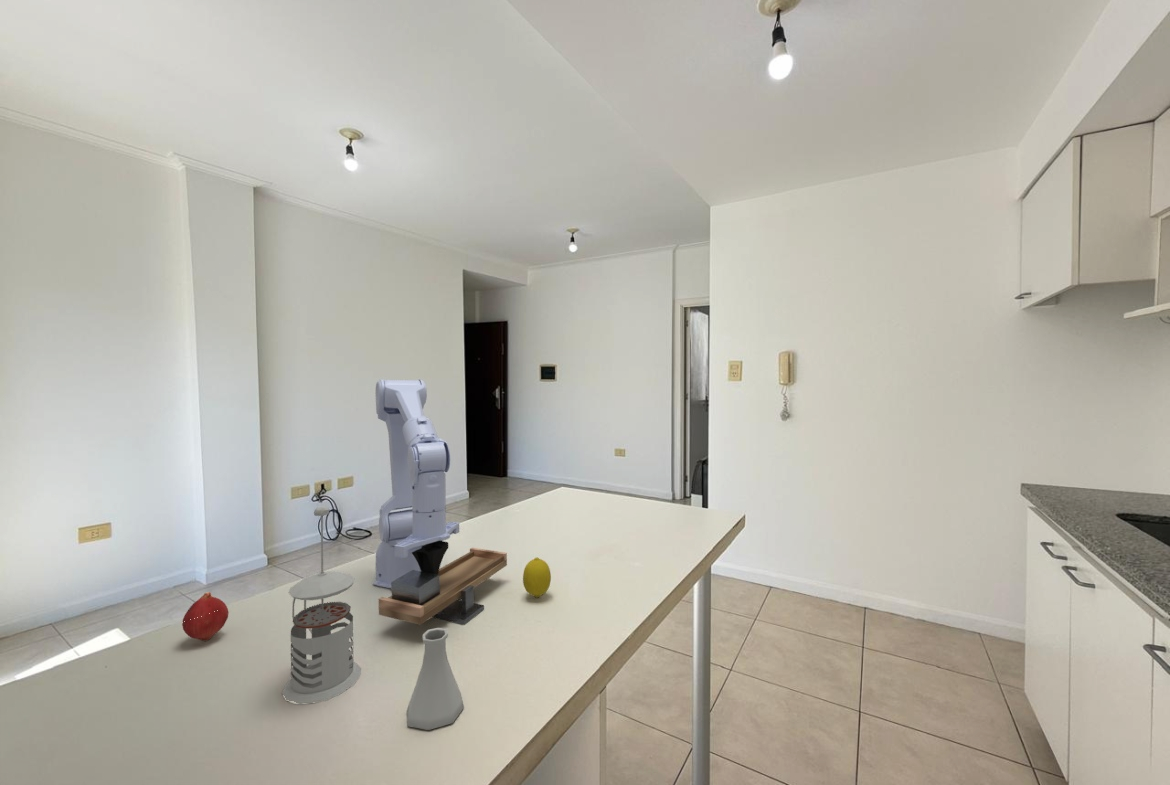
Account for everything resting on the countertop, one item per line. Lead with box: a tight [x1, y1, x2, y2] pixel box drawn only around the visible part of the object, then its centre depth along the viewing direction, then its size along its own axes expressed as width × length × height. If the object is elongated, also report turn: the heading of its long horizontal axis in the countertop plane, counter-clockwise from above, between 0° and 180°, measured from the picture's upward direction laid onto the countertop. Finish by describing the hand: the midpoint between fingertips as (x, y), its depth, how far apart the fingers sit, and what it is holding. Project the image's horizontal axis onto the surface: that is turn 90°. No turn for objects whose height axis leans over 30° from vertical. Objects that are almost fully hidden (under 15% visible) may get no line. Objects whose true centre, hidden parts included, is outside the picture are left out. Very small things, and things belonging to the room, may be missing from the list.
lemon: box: [522, 557, 552, 599], centre depth 90 cm, size 6×6×8 cm
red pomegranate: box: [181, 591, 230, 642], centre depth 75 cm, size 6×6×8 cm
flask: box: [406, 627, 465, 731], centre depth 58 cm, size 7×7×10 cm
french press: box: [282, 505, 362, 705], centre depth 65 cm, size 10×12×25 cm
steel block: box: [390, 570, 440, 606], centre depth 78 cm, size 6×5×4 cm
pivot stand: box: [432, 585, 485, 626], centre depth 85 cm, size 14×6×5 cm, turn 68°
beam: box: [378, 547, 508, 626], centre depth 87 cm, size 9×26×3 cm, turn 158°
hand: (429, 583), depth 82 cm, fingers closed
